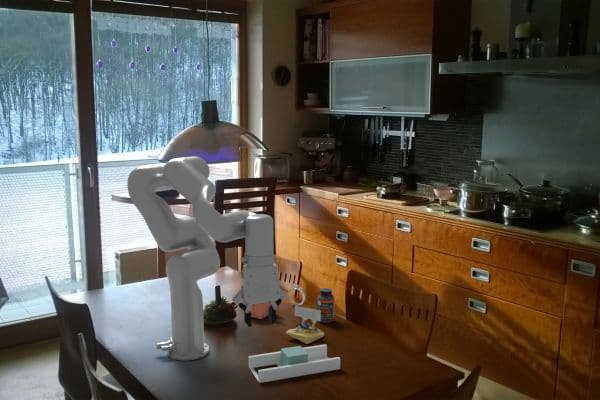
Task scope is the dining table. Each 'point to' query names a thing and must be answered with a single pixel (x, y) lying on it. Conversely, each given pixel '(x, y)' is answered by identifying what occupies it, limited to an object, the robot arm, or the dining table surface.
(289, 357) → the green block
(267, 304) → the pink cube
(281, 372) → the trough
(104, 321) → the dining table surface
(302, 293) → the ring
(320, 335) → the figurine with sign
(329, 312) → the supplement bottle
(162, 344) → the robot arm
